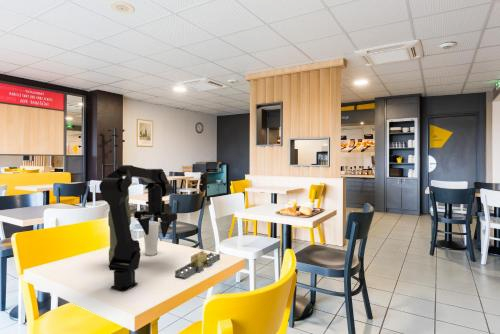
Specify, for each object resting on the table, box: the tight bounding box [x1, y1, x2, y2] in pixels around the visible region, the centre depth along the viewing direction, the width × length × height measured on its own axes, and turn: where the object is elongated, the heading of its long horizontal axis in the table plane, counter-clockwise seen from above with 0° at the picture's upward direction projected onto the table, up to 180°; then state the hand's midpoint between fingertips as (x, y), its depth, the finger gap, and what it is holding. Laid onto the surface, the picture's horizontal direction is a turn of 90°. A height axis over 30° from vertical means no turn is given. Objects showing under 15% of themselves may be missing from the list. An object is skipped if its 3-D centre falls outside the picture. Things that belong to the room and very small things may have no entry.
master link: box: [190, 250, 208, 268], centre depth 127 cm, size 6×4×6 cm, turn 154°
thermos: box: [107, 188, 132, 265], centre depth 130 cm, size 9×12×35 cm
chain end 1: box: [174, 262, 205, 280], centre depth 121 cm, size 11×7×2 cm, turn 154°
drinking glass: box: [143, 220, 159, 256], centre depth 145 cm, size 7×7×15 cm
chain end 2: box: [206, 252, 221, 268], centre depth 133 cm, size 11×7×2 cm, turn 154°
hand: (155, 235), depth 128 cm, fingers open, 9 cm apart
